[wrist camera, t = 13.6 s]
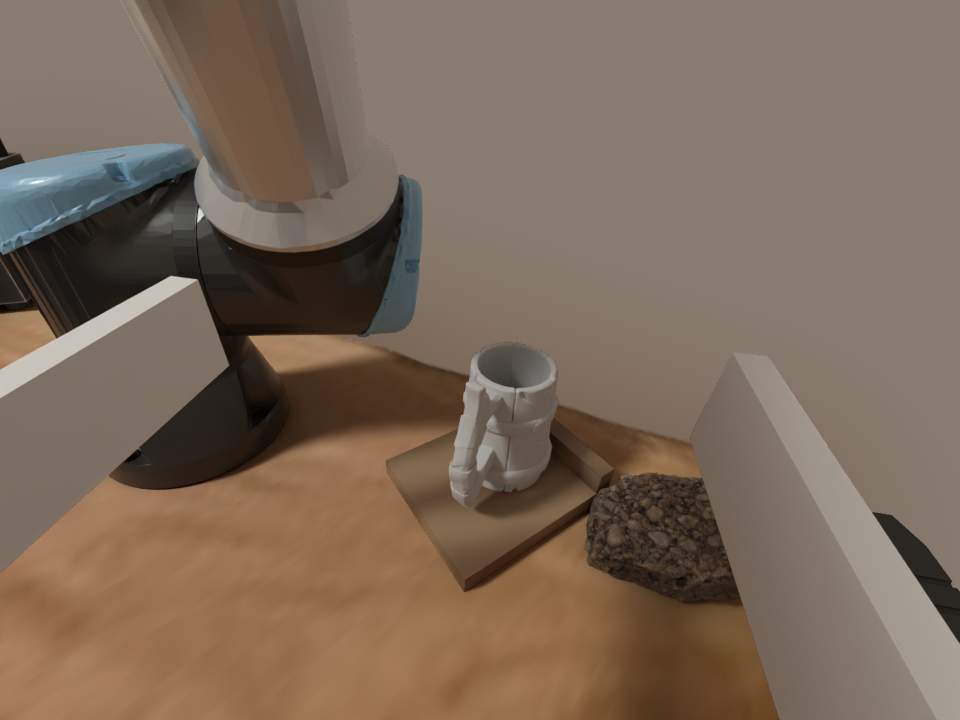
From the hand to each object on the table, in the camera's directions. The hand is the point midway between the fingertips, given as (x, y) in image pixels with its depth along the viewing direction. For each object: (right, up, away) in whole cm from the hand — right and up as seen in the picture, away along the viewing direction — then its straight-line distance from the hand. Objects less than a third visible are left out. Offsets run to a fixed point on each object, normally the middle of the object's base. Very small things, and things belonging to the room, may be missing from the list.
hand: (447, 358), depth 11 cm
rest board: (+2, -11, +25) cm, 27 cm away
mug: (+2, -10, +24) cm, 26 cm away
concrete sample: (+15, -14, +21) cm, 30 cm away
